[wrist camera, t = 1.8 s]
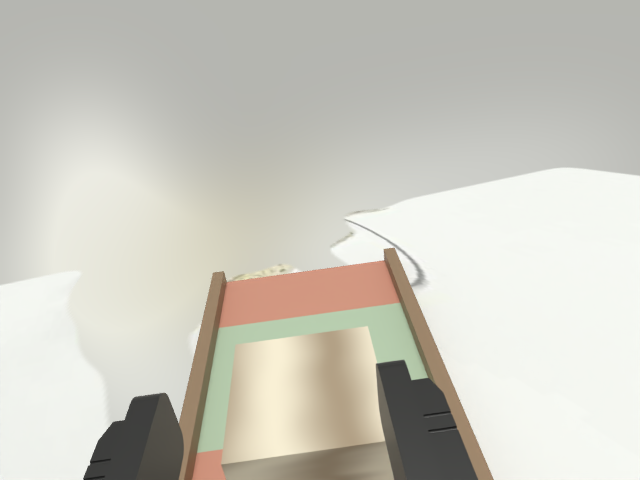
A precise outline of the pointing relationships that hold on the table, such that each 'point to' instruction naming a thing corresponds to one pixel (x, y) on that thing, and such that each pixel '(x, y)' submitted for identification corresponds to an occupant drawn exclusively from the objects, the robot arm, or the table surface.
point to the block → (305, 410)
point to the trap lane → (302, 319)
